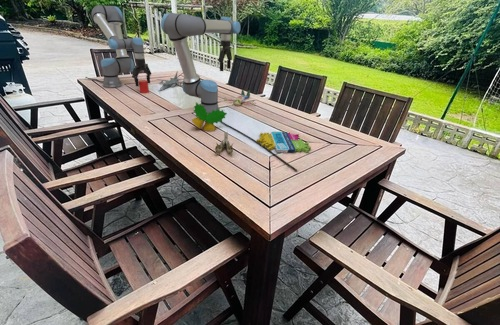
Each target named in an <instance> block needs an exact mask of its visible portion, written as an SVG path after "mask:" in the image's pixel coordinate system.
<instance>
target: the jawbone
mask: <svg viewBox="0 0 500 325" xmlns="http://www.w3.org/2000/svg"><path fill="white" fill-rule="evenodd" d="M223 135H224V136H223V140H222V139H221V142H220V144H218V142H215V144H216V146H215V148H214V149H215V152H214V154H215V155H217V156H218V155H220V153H221V152H223V151H224V150H226V152H227V153H228V155H229V156H233V155H234V154H233V153H234V148H233V144H234V143H230V140H228V139H229V138H228V137H229V136H228V135H229V133H228V131H226V132H224V134H223Z"/></svg>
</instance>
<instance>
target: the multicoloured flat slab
mask: <svg viewBox="0 0 500 325" xmlns="http://www.w3.org/2000/svg"><path fill="white" fill-rule="evenodd" d="M299 136H300V135H299V134H298V133H296V134H294V133H291V132H287V131H270V132H264V133H263V132H260V133H259V139H258V138H257V139H256V141H257V142H258V143H260V144H261V145H262V146H264V147H266V148H267V149H268V150H270V151H272V150H273V149H275V152H276V153H283V154H285V153H287V154H288V153H290V154H293V153H296V152H298V153H301V152H305V153H310V151H311V150H312V149H311V148H312V146H309V142H304V141H303V139H302V138H299ZM262 146H261V147H262ZM268 150H267V151H268Z"/></svg>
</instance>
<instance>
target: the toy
mask: <svg viewBox="0 0 500 325" xmlns="http://www.w3.org/2000/svg"><path fill="white" fill-rule="evenodd" d="M240 92H241V93H240V95H238V96H237V97H235V99H233V98H230V99H228V98H227V97H226V96H225V97H224V98H223V101H224V102H233V103H232V104H233V105H235V106H242V103H243V104H247V105H252V106H255V105H256V104H257V103H256V102H254V101H253V100H252V101H251V102H250V101H248V100H246V99H248V98H250V97H251V90H250V89H249V90H248V91H247V92H246V93H245V91H244V89H242V90H241V91H240Z"/></svg>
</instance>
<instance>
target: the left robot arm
mask: <svg viewBox="0 0 500 325" xmlns="http://www.w3.org/2000/svg"><path fill="white" fill-rule="evenodd" d="M91 18H92V20H93V22H94V24H96V25H97V26H98V27H99V28H100V30H101V31H102V33H103V34H104V36H105V38H106V39H107V45H108V48H109V49H110V50H114V51H115V53H116V57H107V58H103V59H101V60H100V66H101V70H102V75H103V81H101V80H99V79H97V78H92V80H94V81H97V82H99V83H101V84H102V86H103V87H104V88H111V89H112V88H120V87H122V86H123V83H122V82H121V80H120V78H119V74H128V73H132V74H131V78H132V79H133V80H134V85H135V87H139V78H138V77H139V74H140V73H141V71H143V72H144V73H145V74H146V80H147V81H148V84H151V76H152V72H151V69H150V67H149V65H148V63H146V59H145V48H144V40H143V38H142V37H136V36H135V37H132V38H129V37H128V38H124V36H123V30H122V27H121V25H122V24H123V21H124V15H123V12H122V11H121V9H120V8H119V6H116V5H102V4H97V5H95V6H94V7H93V8H92V10H91ZM127 50H133V52H134V53H133V54H134V59H132V58H131V56H129V55H128V52H127ZM133 60H134V61H135V62H134V61H133ZM135 64H136V65H135ZM85 79H88V80H91V78H90V77H87V76H85Z"/></svg>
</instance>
